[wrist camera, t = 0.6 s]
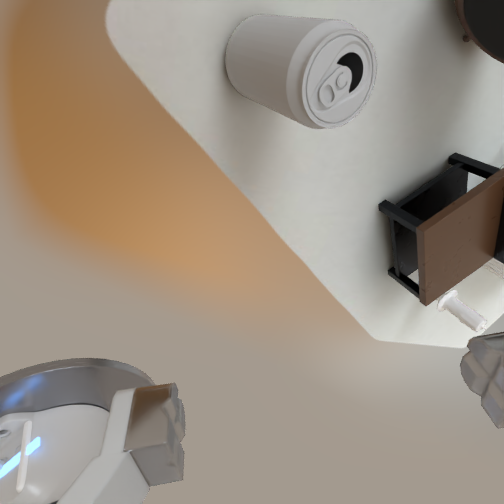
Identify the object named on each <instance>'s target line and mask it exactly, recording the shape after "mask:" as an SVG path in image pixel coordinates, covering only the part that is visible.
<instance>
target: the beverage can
mask: <svg viewBox="0 0 504 504" xmlns="http://www.w3.org/2000/svg"><path fill="white" fill-rule="evenodd" d="M226 70H227V74H228V77H229V79H230V81H231V83H232V85H233V86H234V88H235V89H236V90H237V91H238V92H239V93H240V94H242V95H243V96H245V97H247V98H249V99H251V100H253V101H255V102H257V103H259V104H261V105H263V106H266V107H268V108H270V109H272V110H274V111H276V112H278V113H280V114H282V115H284V116H286V117H288V118H290V119H292V120H294V121H297V122H299V123H301V124H303V125H305V126H307V127H310V128H314V129H323V128H336V127H340V126H342V125H344V124H346V123H348V122H350V121H351V120H352V119H353V118H355V117H356V116H357V115H358V114H359V113H360V111H361V110H362V109H363V107H364V106H365V104H366V103H367V101H368V99H369V97H370V95H371V93H372V90H373V87H374V84H375V79H376V71H377V60H376V54H375V50H374V47H373V45H372V43H371V41H370V40H369V38H368V37H367V36H366V35H365V34H363V33H362V32H360V31H358V30H357V29H356V28H355V27H354V26H353V25H351V24H350V23H348V22H346V21H342V20H332V19H319V18H305V17H292V16H278V15H265V14H259V15H254V16H251V17H249V18H247V19H245V20H244V21H243V22H241V23H240V24H239V25H238V26H237V28H236V29H235V30H234V32H233V33H232V35H231V37H230V39H229V42H228V45H227V50H226Z"/></svg>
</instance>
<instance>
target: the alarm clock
mask: <svg viewBox="0 0 504 504" xmlns="http://www.w3.org/2000/svg"><path fill="white" fill-rule="evenodd" d="M455 8H456V12H457V15H458V18H459V20H460V22H461V25H462V26H463V28H464V30H465V31H466V33H467V34H468V35H466V36H464V38H463V40H464V42H468V41H469V40H470V39H472V40H473V41H474V42H475V44H476V45H477V46H478V47H480V48H481V49H482V50H483V51H484V52H486V53H487V54H488V55H490V56H491V57H493V58H494V59H496V60H498V61H500V62H502V63H504V0H455Z"/></svg>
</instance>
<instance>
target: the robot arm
mask: <svg viewBox="0 0 504 504" xmlns="http://www.w3.org/2000/svg"><path fill="white" fill-rule="evenodd" d="M467 347H468V348H469V350H470V351H469V352H468V353H467V354H465V355H464V356H463V358H462V361H461V364H460V367H461V374H462V376H463V378H464V381H465V383H466V384H467V386H468V387H469V389H470V390H471V391H473V392H474V393H476V394H478V395H479V396H481V406H482V407H483V409H484V410H485V411H486V413H487V414H488V416H489V417H490V418H491V420H492V421H493V423H494V424H495V426H496V427H497V428H504V332H500V333H494V334H489V335H483V336H477V337H473V338H472V339H470V340H469V342H468V345H467ZM184 413H185V412H184V407H183V403H182V400H180V399H179V398H178V389H177V386H176V384H175V383H170V384H163V385H155V386H148V387H140V388H132V389H125V390H119V391H116V393H115V395H114V397H113V400H112V404H111V408H110V413H109V412H108V411H107V410H105V409H103V408H100V407H97V406H92V405H66V406H60V407H55V408H51V409H47V410H43V411H38V412H19V413H10V414H7V415H4V416H2V417H1V418H0V504H142V503H143V501H144V499H145V497H146V495H147V494H148V492H149V490H150V488H149V487H150V486H155V485H160V484H165V483H171V482H176V481H181V480H183V469H184V451H183V448H182V446H181V443H180V442H181V441H182V439H183V438H184V436H185V414H184Z"/></svg>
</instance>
